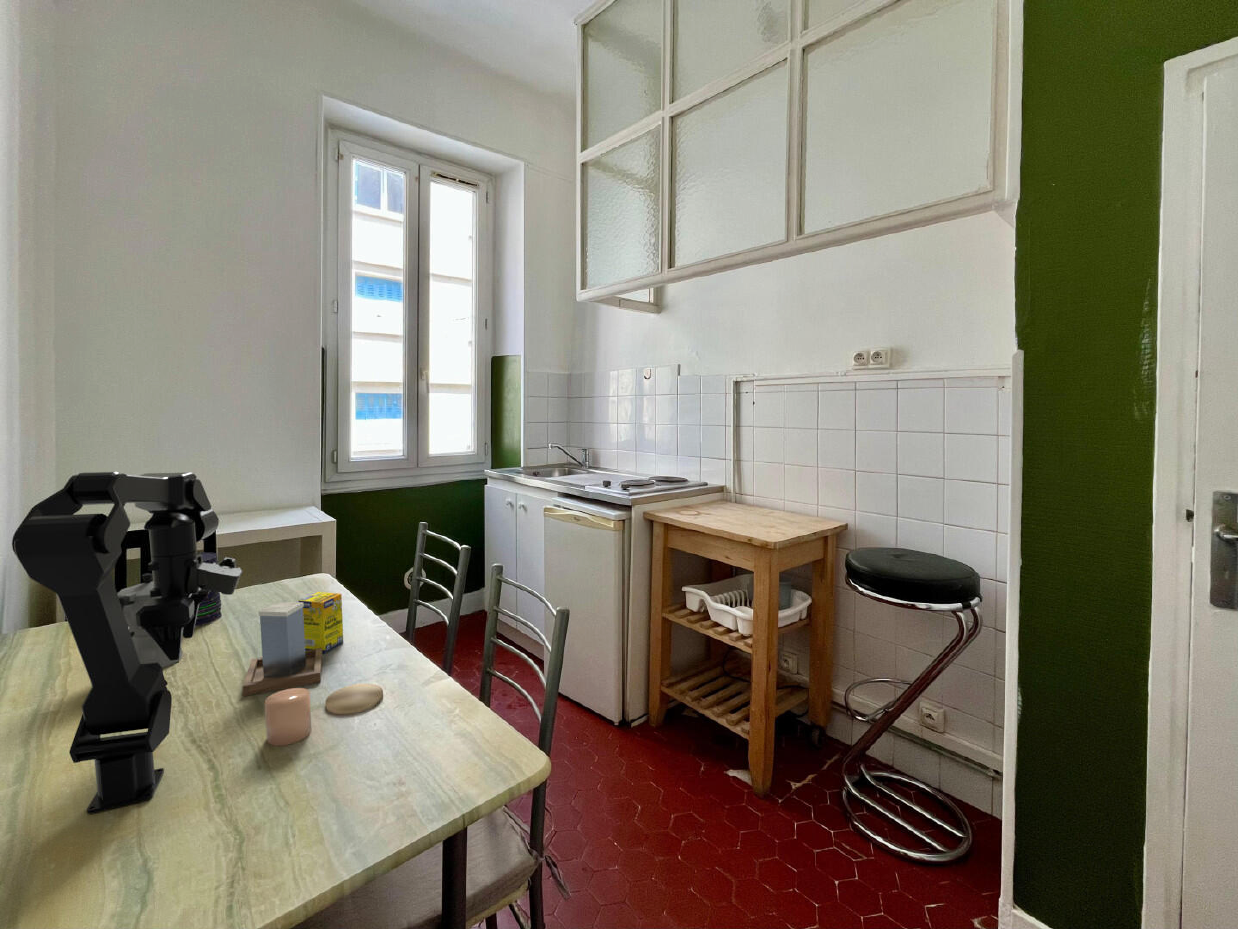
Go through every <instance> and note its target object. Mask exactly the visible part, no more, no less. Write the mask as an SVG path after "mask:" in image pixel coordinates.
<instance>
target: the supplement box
mask: <svg viewBox="0 0 1238 929" xmlns="http://www.w3.org/2000/svg"><path fill="white" fill-rule="evenodd" d="M342 599H343V598H342V593H339V592H338V593H337V592H325V591H317V592H315V593H313V594H311V595H308V596H306V597H304V598H301V599H298V600H297V601H298V602H303V603H304V607H303V619H304V637H305V650H311V649H317V648H322V655H323V654H324V655H325V654H327V653H328V652H329V651H331V650H332V649H335V648H336V647H337V646H339V645H342V644H344V628H343V627H344V626H343V625H344V624H343V622H344V621H343V603H342Z"/></svg>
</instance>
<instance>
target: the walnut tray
mask: <svg viewBox="0 0 1238 929" xmlns="http://www.w3.org/2000/svg"><path fill="white" fill-rule="evenodd" d="M305 655H306V667H304V668H303V669H302V670H300V671H299V672H298V673H297V674H295V675H291V676H286V677H280V678H264V674H263V658H262V657H257V658H251V660H250V662H249V666H248V668H247V672H246V676H245V678H244V680H243V681H244V682H243V684H242V696H243V697H247V696H251V695H252V696H253V695H257V694H264V693H268V692H274V691H281V690H286V689H292V688H297V687H302V686H306V685H307V686H308V685H311V684H318V683H321V680H322V664H323V654H322V648H317V649H311V650H305Z"/></svg>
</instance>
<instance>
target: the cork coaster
mask: <svg viewBox="0 0 1238 929" xmlns="http://www.w3.org/2000/svg"><path fill="white" fill-rule="evenodd" d="M383 698H384V690H383V687H381V686H380V685H378V684H376V683H375V684H374V683H359V684H358V683H356V684H352V685H351V684H350V685H348V686H344V687H341V688H339V689H337V690H335V691H334V692H332V693H330V694H329V695H328V696H326V700H325V709H326V710H327V712H329V713H331V714H334V715H340V716H341V715H353V714H354V715H355V714H358V713H361V712H366V711H367V710H370V709H372V708H374V707H376V706H377V705H378V704H379V703H380V702H382V700H383ZM375 705H376V706H375Z"/></svg>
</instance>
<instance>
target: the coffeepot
mask: <svg viewBox="0 0 1238 929" xmlns="http://www.w3.org/2000/svg"><path fill="white" fill-rule="evenodd" d="M141 579H142V581H143V583H140V584H136V585H133V586H128V587H126V588H122V589H120V591H118V592H117V595H118V598H119V601H120V604H121V607H122V610H123V613H124V616H125V619H126V622H127V625H128V628H129V631H130V634H131V637H132V640H133V643H134V646H135V649H136V652H137V655H138V658H139V661H140V663H141V664H149V663H158V664H159V665H160V666H161V667H162V669H165V668H168V667H170V666H172V665H175V664H176V663H178V662H180V660H181V659H182V656H183V655H184V652H183V649H182V648H181V651H180V658H179V659H178V660H173V661H171V660H169V658H168V657H167V656H166V654H165V653H164V652H163V651H162V649H161V648H160V647H159V646H158V644H157V643H156V642H155V641H154V639H153V638H152V637H151V636H150V635H149V634H148V633H147V632H146V631H145V629H142V628H141V627H139V626H137V623H136V613H137V612H138V611H139V610H140V609H141V607H142V606H143V605H144V604H146V603H147V602H148V601H149V600H150V599H157V598H161V596H160V597H151V598H150V591H151V590H152V589H153V588H154V584H153V573H148V572H147V573H143V574H142V575H141Z"/></svg>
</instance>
